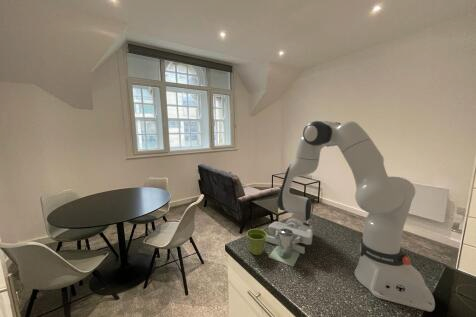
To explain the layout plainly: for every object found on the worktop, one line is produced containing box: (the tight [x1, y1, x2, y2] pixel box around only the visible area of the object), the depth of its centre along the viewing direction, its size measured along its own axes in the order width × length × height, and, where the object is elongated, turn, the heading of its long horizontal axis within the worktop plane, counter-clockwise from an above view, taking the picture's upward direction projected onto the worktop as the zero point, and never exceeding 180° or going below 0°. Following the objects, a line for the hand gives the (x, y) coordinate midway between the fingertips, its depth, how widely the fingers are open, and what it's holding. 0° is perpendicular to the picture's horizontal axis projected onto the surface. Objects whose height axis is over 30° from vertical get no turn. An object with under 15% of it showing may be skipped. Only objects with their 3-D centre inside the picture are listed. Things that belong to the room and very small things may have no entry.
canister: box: [278, 229, 293, 259], centre depth 87 cm, size 6×6×11 cm
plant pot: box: [246, 228, 268, 256], centre depth 90 cm, size 9×9×9 cm
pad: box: [268, 245, 301, 267], centre depth 87 cm, size 11×10×1 cm
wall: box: [265, 234, 306, 255], centre depth 94 cm, size 20×1×3 cm, turn 57°
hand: (284, 240), depth 86 cm, fingers open, 6 cm apart
